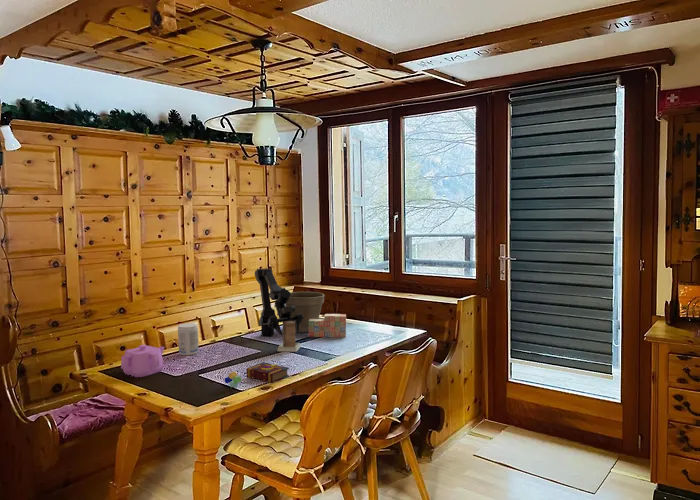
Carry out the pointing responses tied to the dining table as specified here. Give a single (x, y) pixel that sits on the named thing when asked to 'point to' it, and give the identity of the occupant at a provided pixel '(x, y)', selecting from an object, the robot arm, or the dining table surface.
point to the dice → (233, 379)
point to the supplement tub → (188, 339)
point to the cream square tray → (289, 348)
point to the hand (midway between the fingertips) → (289, 333)
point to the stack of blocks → (328, 326)
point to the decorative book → (267, 372)
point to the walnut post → (288, 334)
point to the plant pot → (306, 307)
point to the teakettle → (142, 361)
